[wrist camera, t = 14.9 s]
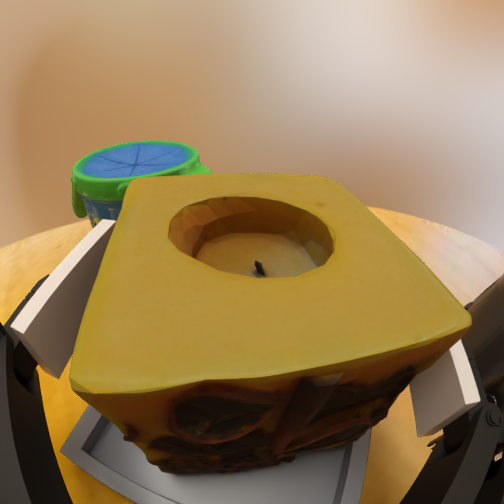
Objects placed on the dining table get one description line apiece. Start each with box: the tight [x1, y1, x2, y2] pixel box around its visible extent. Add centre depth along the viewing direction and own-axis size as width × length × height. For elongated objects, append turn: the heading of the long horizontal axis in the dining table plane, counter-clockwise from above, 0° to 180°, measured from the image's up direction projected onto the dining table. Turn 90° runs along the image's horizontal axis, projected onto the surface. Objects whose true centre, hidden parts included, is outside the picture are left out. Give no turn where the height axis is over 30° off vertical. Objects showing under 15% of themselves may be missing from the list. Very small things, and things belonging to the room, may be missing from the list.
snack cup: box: [71, 140, 213, 228], centre depth 22 cm, size 16×10×10 cm
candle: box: [69, 173, 472, 475], centre depth 11 cm, size 10×10×10 cm
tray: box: [60, 405, 371, 504], centre depth 14 cm, size 15×15×2 cm
